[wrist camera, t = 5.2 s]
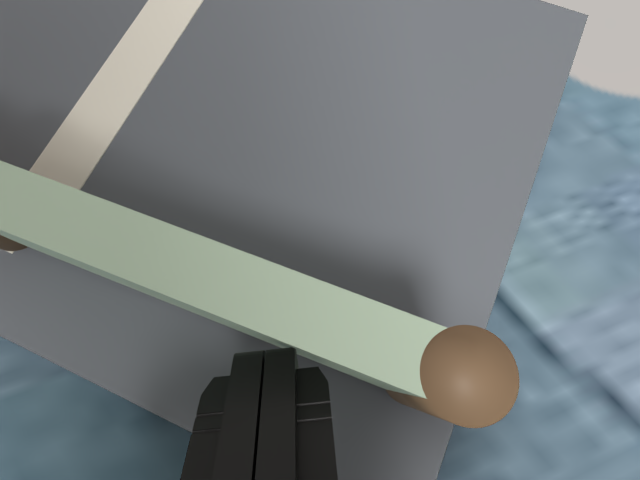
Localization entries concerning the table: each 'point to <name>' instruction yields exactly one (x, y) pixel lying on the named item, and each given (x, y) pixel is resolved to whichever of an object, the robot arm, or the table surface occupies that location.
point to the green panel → (265, 300)
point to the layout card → (280, 174)
